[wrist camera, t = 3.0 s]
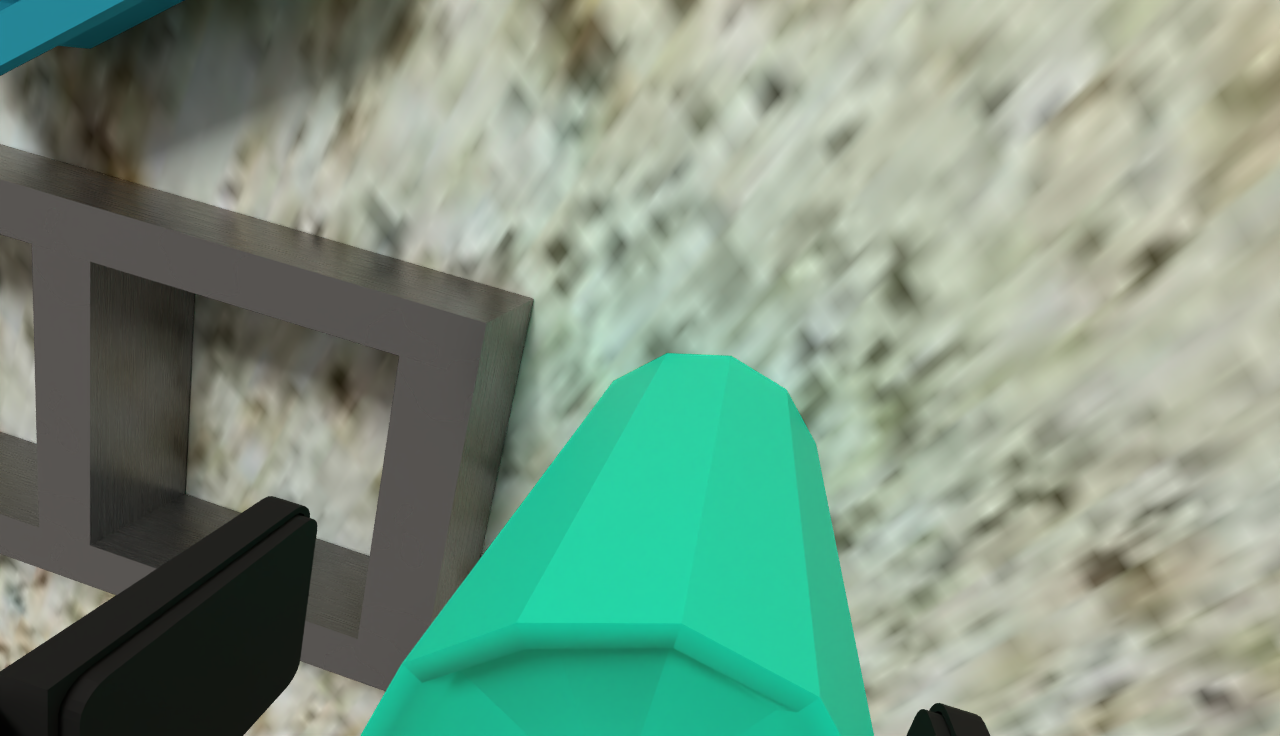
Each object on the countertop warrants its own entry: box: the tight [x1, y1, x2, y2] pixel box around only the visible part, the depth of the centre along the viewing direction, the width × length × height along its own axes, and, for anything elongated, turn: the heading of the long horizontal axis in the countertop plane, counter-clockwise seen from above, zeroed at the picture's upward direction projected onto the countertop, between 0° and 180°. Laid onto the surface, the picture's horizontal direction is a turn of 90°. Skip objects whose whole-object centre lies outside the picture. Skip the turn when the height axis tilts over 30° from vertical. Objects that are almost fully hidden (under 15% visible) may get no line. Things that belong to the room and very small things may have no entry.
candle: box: [361, 353, 874, 736], centre depth 12 cm, size 6×6×12 cm
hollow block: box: [0, 144, 533, 691], centre depth 18 cm, size 20×10×3 cm, turn 76°
